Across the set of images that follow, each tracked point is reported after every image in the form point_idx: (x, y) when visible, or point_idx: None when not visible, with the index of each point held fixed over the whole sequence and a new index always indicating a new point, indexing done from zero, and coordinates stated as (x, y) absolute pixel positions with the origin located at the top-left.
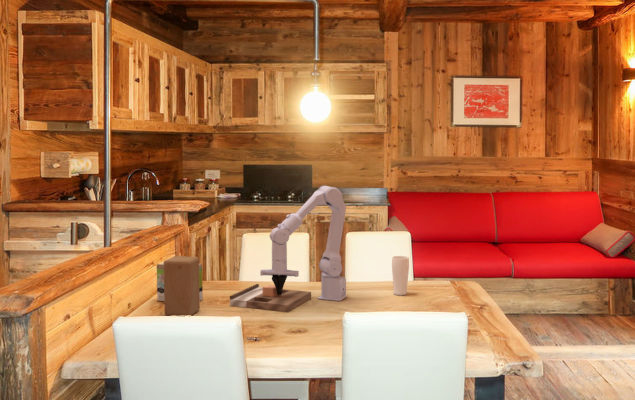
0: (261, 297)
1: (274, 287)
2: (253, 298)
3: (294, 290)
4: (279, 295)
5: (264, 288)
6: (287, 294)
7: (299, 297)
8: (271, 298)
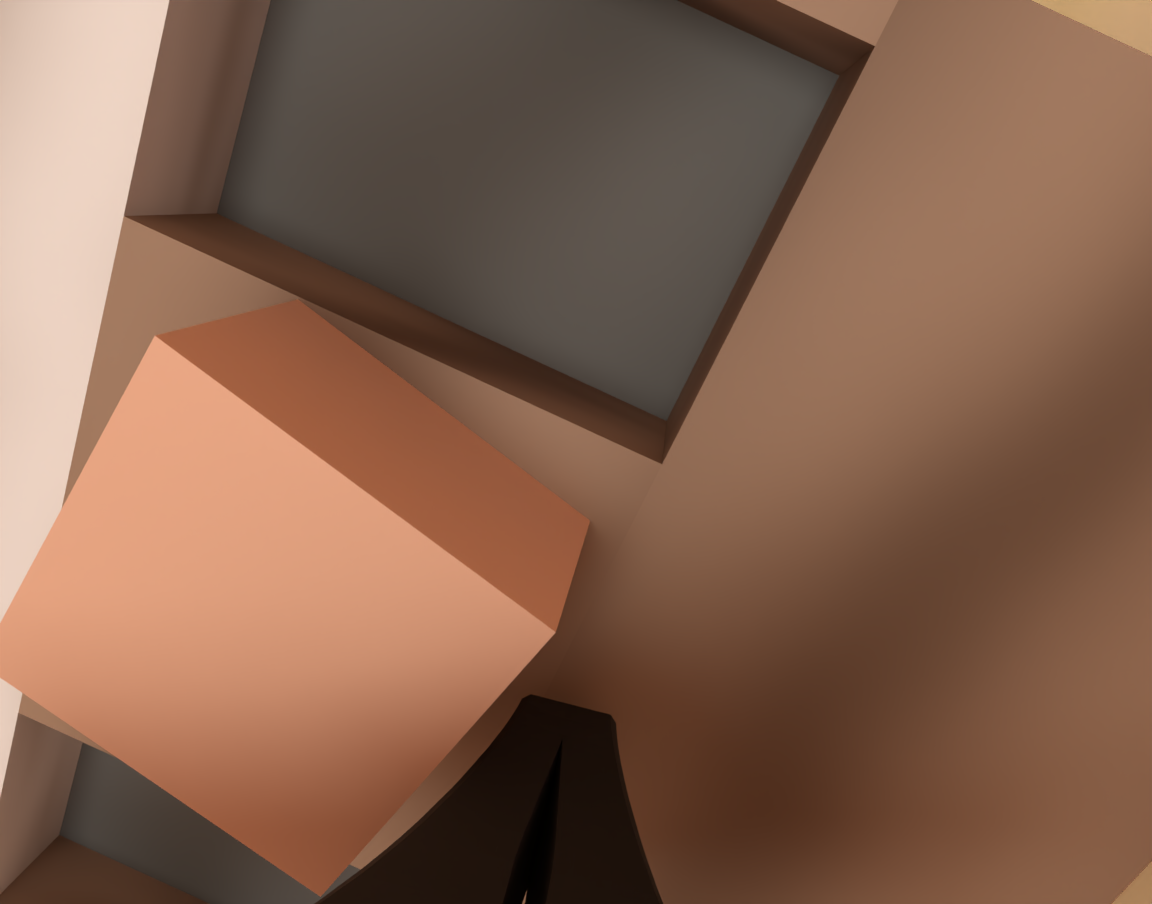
0: None
1: (350, 734)
2: (28, 733)
3: (1073, 53)
4: (558, 652)
5: (67, 689)
6: (774, 573)
7: (1063, 891)
8: None
